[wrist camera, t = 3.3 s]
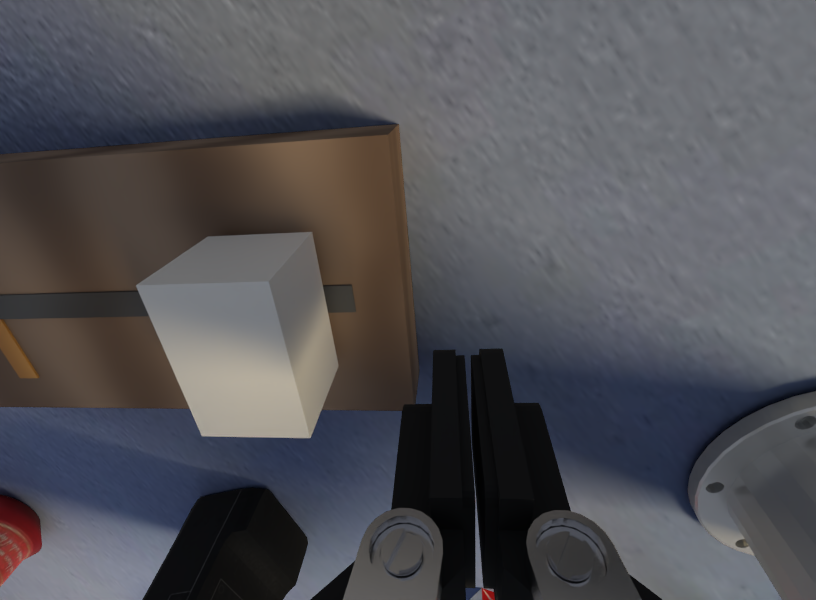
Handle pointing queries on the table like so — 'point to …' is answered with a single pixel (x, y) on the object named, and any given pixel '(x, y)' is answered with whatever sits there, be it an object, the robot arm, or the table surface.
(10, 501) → the liquor
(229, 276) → the fader tab
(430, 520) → the robot arm
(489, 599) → the red and white cube
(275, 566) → the portable radio
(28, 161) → the board
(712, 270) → the table surface
